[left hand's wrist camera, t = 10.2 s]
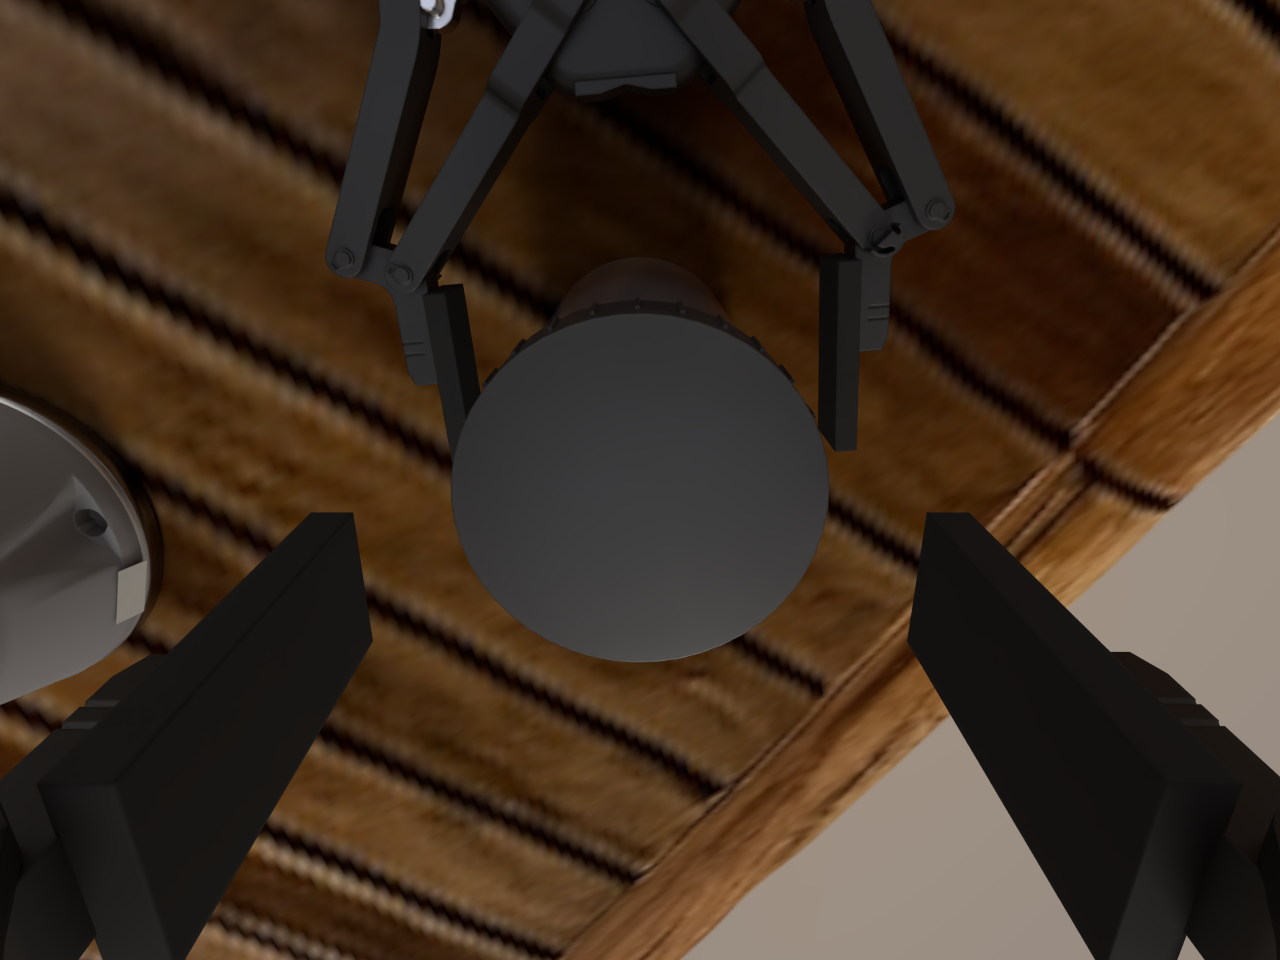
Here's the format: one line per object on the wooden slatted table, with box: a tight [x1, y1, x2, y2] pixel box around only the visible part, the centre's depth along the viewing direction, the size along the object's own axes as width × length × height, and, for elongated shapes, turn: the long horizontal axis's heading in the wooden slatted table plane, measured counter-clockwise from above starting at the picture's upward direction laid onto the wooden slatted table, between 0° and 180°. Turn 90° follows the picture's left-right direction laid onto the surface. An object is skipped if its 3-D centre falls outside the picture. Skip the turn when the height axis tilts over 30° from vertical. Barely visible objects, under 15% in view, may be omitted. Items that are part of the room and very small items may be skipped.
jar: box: [543, 257, 737, 328], centre depth 25 cm, size 8×8×17 cm
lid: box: [451, 297, 829, 662], centre depth 18 cm, size 9×9×2 cm
